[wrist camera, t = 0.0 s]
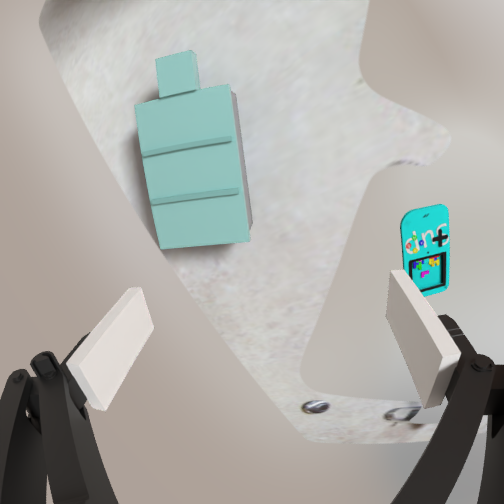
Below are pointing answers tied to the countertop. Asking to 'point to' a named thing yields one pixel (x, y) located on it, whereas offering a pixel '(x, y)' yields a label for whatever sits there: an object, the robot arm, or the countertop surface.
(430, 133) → the countertop surface
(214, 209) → the lid
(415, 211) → the handheld gaming console
